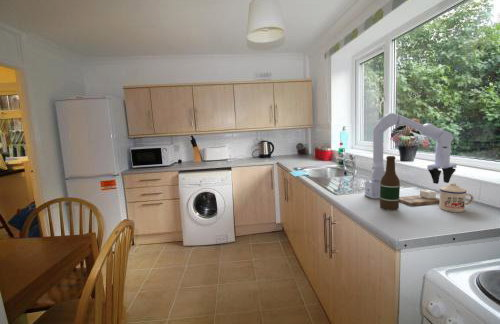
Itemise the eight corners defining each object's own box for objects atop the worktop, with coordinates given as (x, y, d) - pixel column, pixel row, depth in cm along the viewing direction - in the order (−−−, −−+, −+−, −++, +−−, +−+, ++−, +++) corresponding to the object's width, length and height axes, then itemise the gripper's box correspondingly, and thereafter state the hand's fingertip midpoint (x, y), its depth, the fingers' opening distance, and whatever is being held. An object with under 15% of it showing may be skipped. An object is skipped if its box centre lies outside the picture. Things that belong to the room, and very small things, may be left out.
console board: (410, 206, 115) (410, 202, 115) (394, 200, 125) (394, 197, 125) (443, 202, 118) (443, 199, 118) (425, 197, 128) (425, 194, 127)
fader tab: (428, 198, 119) (428, 192, 119) (419, 195, 124) (420, 189, 124) (435, 197, 120) (436, 191, 119) (426, 195, 125) (427, 189, 124)
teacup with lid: (443, 211, 106) (444, 185, 104) (435, 205, 114) (436, 180, 113) (478, 213, 102) (480, 186, 100) (467, 207, 110) (469, 181, 109)
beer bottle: (396, 206, 116) (398, 155, 113) (401, 211, 108) (403, 157, 105) (378, 205, 118) (379, 155, 115) (381, 210, 111) (382, 157, 108)
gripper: (437, 157, 115) (435, 185, 117) (463, 155, 118) (461, 183, 119) (424, 155, 122) (422, 182, 124) (449, 154, 125) (447, 180, 126)
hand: (440, 182), depth 122 cm, fingers open, 5 cm apart
